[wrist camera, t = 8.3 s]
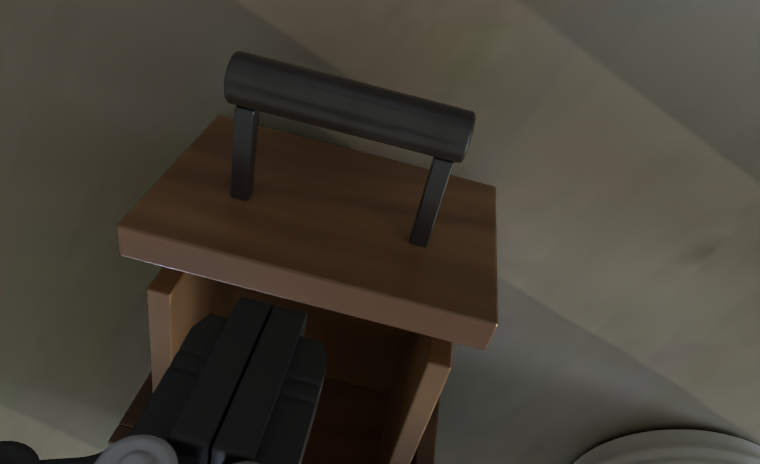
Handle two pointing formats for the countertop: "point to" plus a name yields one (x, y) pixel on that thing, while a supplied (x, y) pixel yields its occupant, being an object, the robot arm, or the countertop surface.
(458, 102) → the countertop surface
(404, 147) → the drawer
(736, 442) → the jar
